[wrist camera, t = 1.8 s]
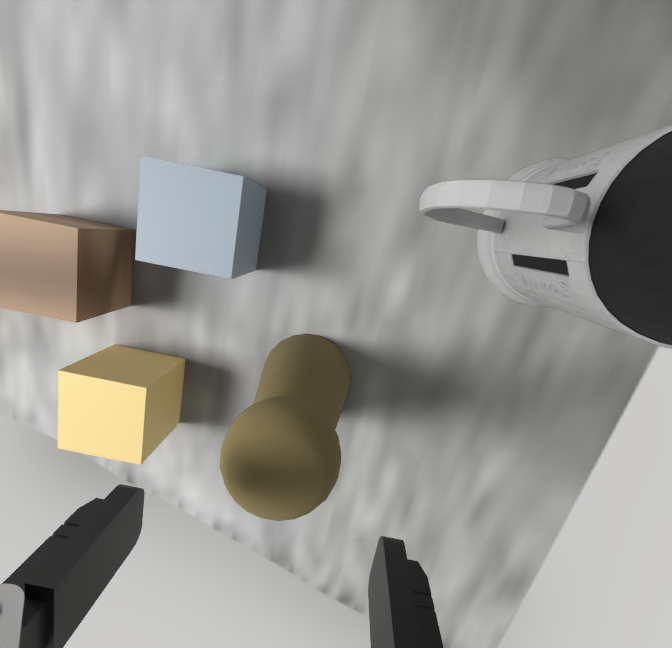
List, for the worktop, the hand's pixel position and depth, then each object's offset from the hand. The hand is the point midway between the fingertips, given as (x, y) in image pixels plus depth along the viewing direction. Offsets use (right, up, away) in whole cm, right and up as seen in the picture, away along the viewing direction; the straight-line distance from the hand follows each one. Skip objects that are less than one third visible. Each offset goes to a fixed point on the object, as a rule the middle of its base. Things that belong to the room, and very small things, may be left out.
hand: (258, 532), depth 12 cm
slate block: (-4, +13, +11) cm, 18 cm away
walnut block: (-13, +11, +12) cm, 21 cm away
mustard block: (-11, +3, +14) cm, 18 cm away
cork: (+1, +3, +13) cm, 13 cm away
